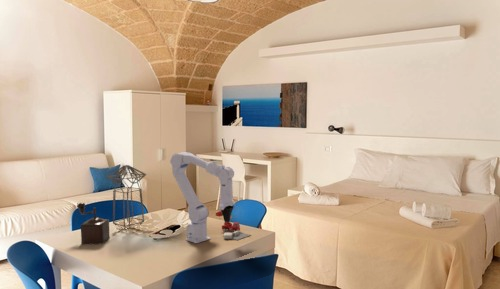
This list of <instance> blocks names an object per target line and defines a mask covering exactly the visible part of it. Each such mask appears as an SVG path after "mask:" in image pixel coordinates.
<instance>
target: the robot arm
mask: <svg viewBox="0 0 500 289" xmlns="http://www.w3.org/2000/svg"><path fill="white" fill-rule="evenodd" d="M169 163H170V164H171V170H172V175H173V177H174V179H175V182H177V183H176V184H177V186H178V187H179V189H180V191H181V193H182V195H183V197H184V199H185V202H186V203H187V205H188V207H187V214H188V219H189V220H190V223H189V224H187V226H186V238H185V241H188V242H190V243H194V244H198V243H202V242H206V241H208V240H211V237H209V236H208V231H207V230H208V228H207V225H208V224H207V223H208V222H207V221H208V217H209V215H210V211H209V208H208V207H207V206H206V205H205V204H204V203H203V202H202V201H201V200H199V198H198V196H197V194H196V193H195V190H194V188H193V186H192V184H191V182H190V180H189V179H188V176H187V174H186V169H187V168H188V166H189V165H190V164H192V165H195V166H197V167H200V168H202V169H205V171H206V173H208V174H210V175H212V176H215V177H217V178H218V180H219V183H220V184H219V187H220V194H219V195H220V204H219V206H218V208H219V209H218V210H219V211H221V212H222V214H223V221H224V222H230V221H231V219H230V217H231V216H232V213H233V210H234V207H235V206H234V205H236V202H235V200H234V199H233V178H234V176H235V171H234V170H233V168H232V167H230V166H226V165H223V164H219V163H217V161H215V160H211V161H206V160H205V159H202V158H201V157H199V156H197V155H195V154H193V153H191V152H188V151H184V152H183V151H182V152H178V153H177V152H176V153H174V154H172V155H171V157H170V162H169ZM225 166H226V167H225Z"/></svg>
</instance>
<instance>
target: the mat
mask: <svg viewBox="0 0 500 289" xmlns="http://www.w3.org/2000/svg"><path fill="white" fill-rule="evenodd" d="M247 236H248V237H251V236H252V235H251V234H248V233H245V232H241V231H239V235H237V236H233V237H232V239H231V240H234V241H240V240H242V239H245V238H247ZM239 239H240V240H239Z"/></svg>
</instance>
